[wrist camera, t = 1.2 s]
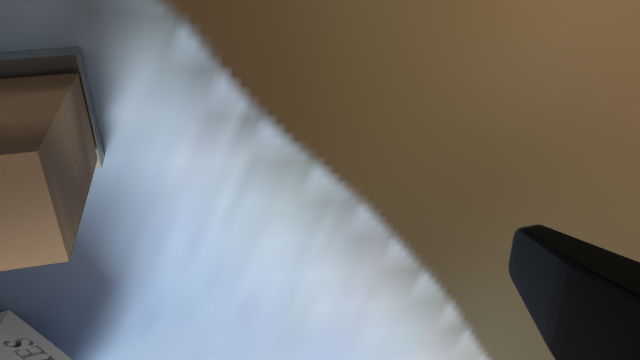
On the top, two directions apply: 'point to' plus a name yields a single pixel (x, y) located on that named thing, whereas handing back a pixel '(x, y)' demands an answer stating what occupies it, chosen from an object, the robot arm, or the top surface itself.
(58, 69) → the rail
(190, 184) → the top surface
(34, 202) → the wooden block
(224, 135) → the top surface
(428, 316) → the top surface
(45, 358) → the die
